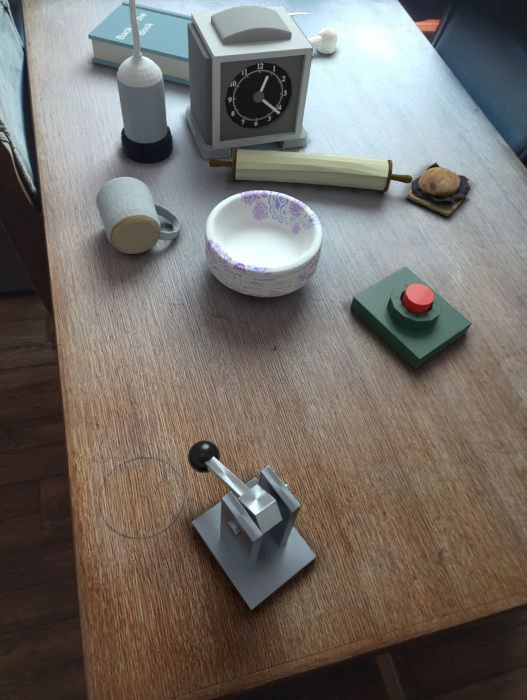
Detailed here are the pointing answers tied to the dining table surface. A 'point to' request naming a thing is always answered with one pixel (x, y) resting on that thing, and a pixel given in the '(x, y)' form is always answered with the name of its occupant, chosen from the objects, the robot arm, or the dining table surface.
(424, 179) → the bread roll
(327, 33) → the faucet
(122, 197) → the ceramic mug
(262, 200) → the paper bowls
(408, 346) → the button block
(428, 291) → the button
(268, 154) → the rolling pin
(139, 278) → the dining table surface
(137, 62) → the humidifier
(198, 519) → the tap bracket
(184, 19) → the book
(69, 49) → the dining table surface
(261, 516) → the tap lever
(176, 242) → the dining table surface
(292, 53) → the alarm clock
